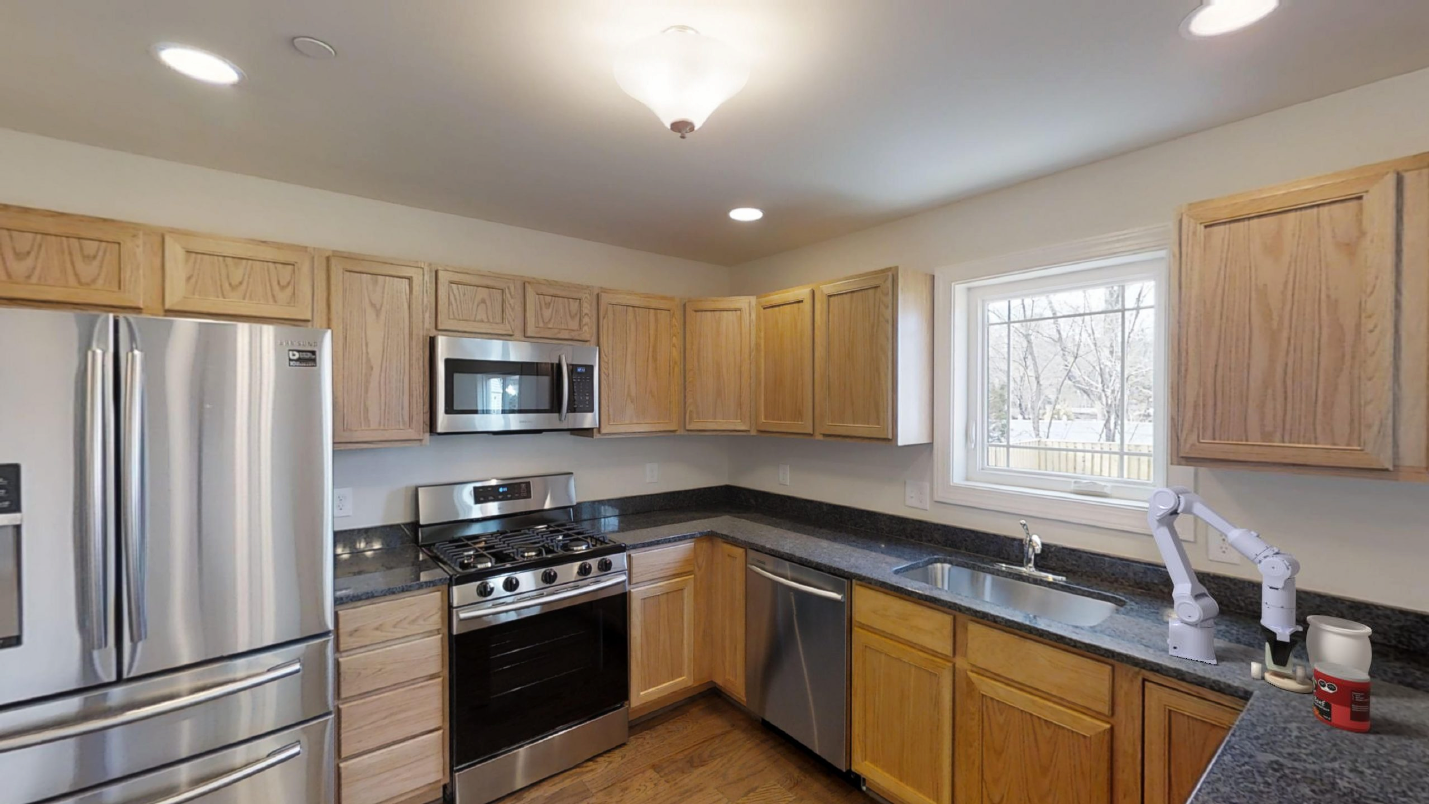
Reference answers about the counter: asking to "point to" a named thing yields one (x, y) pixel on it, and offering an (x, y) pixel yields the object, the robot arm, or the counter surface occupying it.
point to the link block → (1275, 667)
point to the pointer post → (1256, 670)
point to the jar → (1338, 642)
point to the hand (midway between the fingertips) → (1277, 661)
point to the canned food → (1341, 696)
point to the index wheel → (1290, 680)
